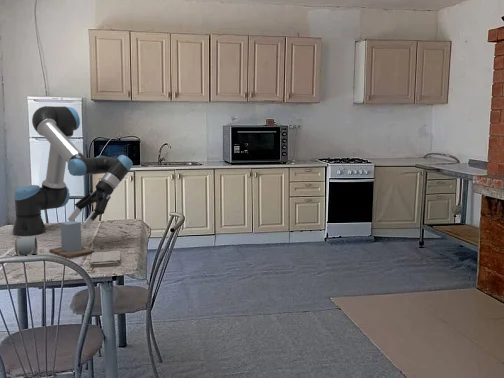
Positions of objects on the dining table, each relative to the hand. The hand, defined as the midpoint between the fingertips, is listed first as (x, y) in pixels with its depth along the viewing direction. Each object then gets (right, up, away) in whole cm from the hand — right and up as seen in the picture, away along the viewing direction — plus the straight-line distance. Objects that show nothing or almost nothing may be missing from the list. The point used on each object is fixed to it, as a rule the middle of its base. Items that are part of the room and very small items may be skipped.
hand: (77, 223), depth 225 cm
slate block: (-3, -12, 0) cm, 12 cm away
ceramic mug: (-20, -14, -4) cm, 25 cm away
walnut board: (-3, -13, 0) cm, 13 cm away
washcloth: (+15, -15, -12) cm, 25 cm away
